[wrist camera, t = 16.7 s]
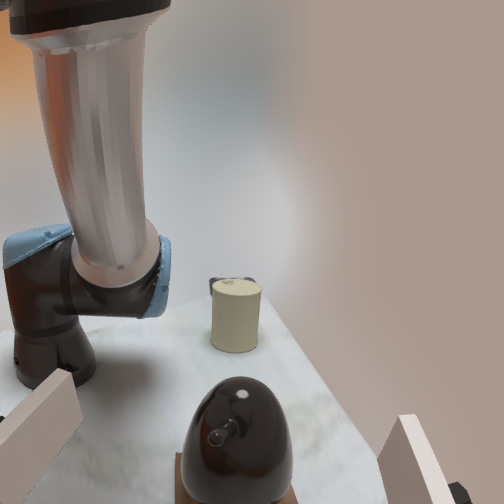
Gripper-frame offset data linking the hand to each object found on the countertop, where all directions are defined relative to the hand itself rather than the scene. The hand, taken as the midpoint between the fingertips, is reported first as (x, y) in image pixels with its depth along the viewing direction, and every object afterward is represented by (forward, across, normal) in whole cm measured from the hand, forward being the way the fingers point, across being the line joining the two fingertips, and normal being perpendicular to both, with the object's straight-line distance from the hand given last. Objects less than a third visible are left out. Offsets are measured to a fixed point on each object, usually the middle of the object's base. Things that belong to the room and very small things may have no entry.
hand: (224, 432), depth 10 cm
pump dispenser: (+10, 0, -20) cm, 22 cm away
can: (+46, -5, -22) cm, 51 cm away
